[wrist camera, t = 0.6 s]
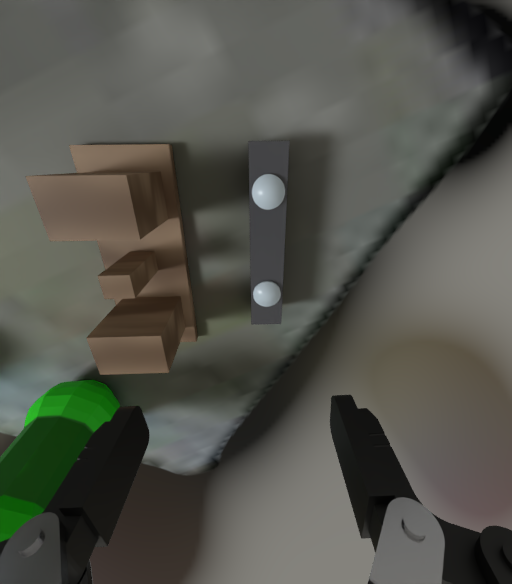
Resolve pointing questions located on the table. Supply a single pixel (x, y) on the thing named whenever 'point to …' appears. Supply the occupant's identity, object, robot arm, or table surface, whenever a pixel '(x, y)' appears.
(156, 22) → the table surface
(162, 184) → the display stand
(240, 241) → the table surface
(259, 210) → the grey bar with knobs
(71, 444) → the plastic bottle
